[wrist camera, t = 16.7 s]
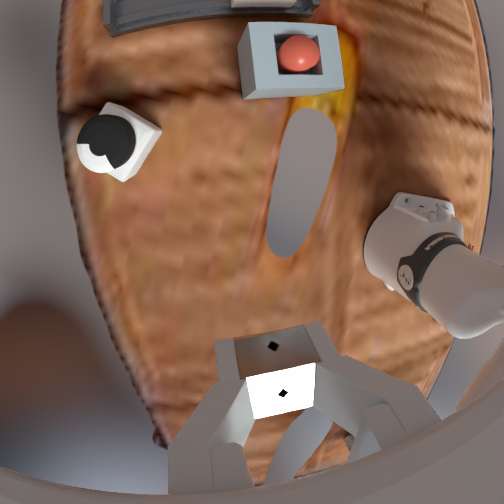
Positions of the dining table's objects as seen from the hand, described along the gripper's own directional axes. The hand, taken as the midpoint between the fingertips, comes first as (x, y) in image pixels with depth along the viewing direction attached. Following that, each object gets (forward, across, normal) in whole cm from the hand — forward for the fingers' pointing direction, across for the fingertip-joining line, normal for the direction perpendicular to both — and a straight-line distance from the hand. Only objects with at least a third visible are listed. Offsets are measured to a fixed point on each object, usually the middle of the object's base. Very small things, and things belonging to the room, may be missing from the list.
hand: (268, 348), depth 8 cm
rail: (+34, +2, +27) cm, 43 cm away
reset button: (+28, +10, +14) cm, 32 cm away
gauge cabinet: (+34, +10, +14) cm, 38 cm away
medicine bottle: (+34, -11, +7) cm, 37 cm away
